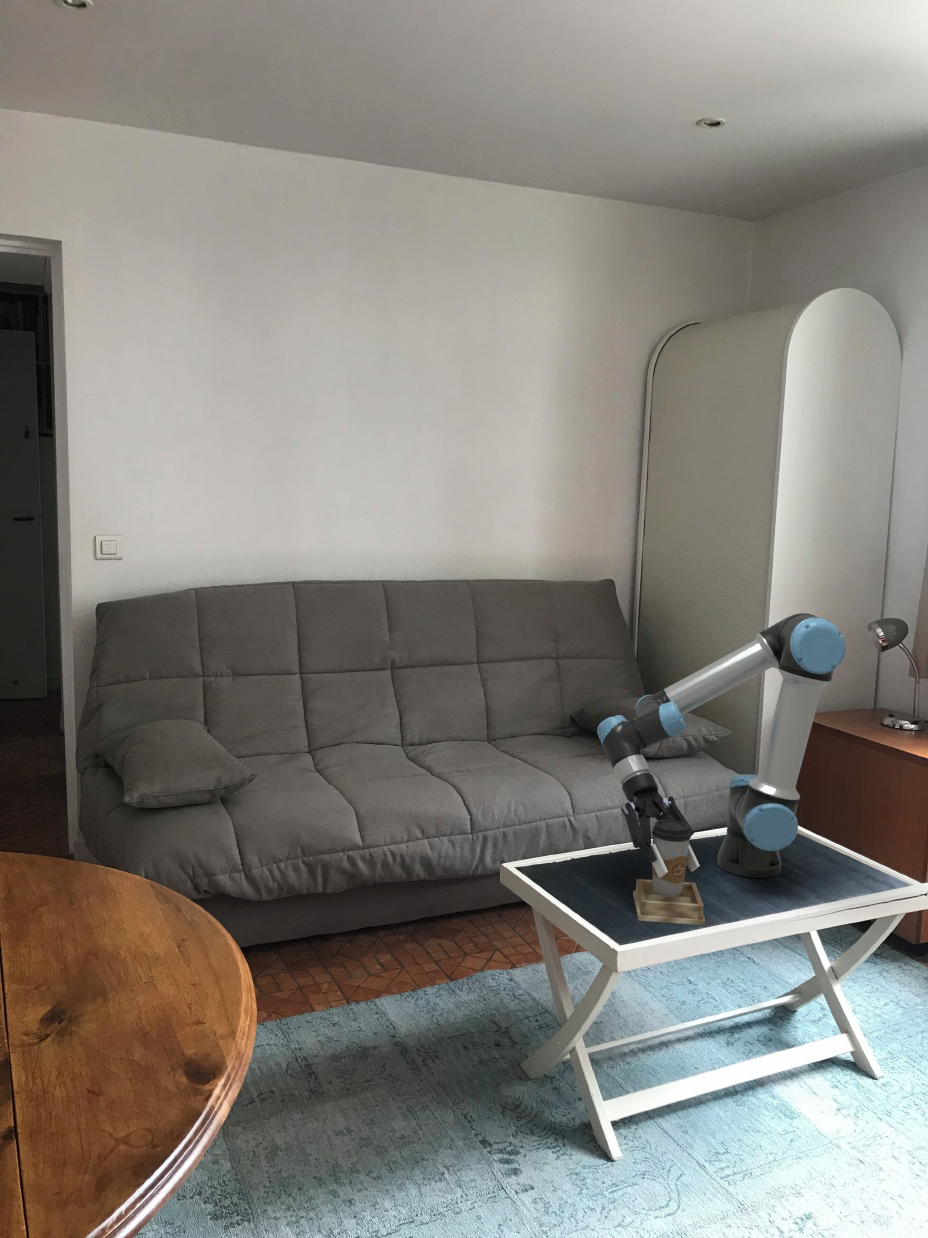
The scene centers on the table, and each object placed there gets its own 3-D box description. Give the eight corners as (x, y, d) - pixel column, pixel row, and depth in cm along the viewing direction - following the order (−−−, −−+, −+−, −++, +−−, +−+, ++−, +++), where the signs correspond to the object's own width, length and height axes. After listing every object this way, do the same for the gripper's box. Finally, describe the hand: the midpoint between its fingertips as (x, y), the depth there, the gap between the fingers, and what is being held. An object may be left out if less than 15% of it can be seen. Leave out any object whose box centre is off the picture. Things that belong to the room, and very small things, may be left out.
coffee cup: (662, 901, 212) (667, 833, 210) (640, 886, 220) (645, 821, 218) (694, 896, 215) (699, 829, 214) (671, 882, 223) (676, 817, 221)
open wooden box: (695, 899, 224) (697, 882, 224) (705, 925, 210) (706, 907, 210) (633, 895, 225) (634, 878, 225) (638, 920, 212) (639, 902, 211)
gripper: (663, 783, 234) (706, 872, 222) (591, 792, 223) (632, 887, 211) (680, 766, 228) (725, 857, 217) (607, 776, 218) (650, 871, 206)
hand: (679, 871), depth 214 cm, fingers closed on coffee cup, 8 cm apart
